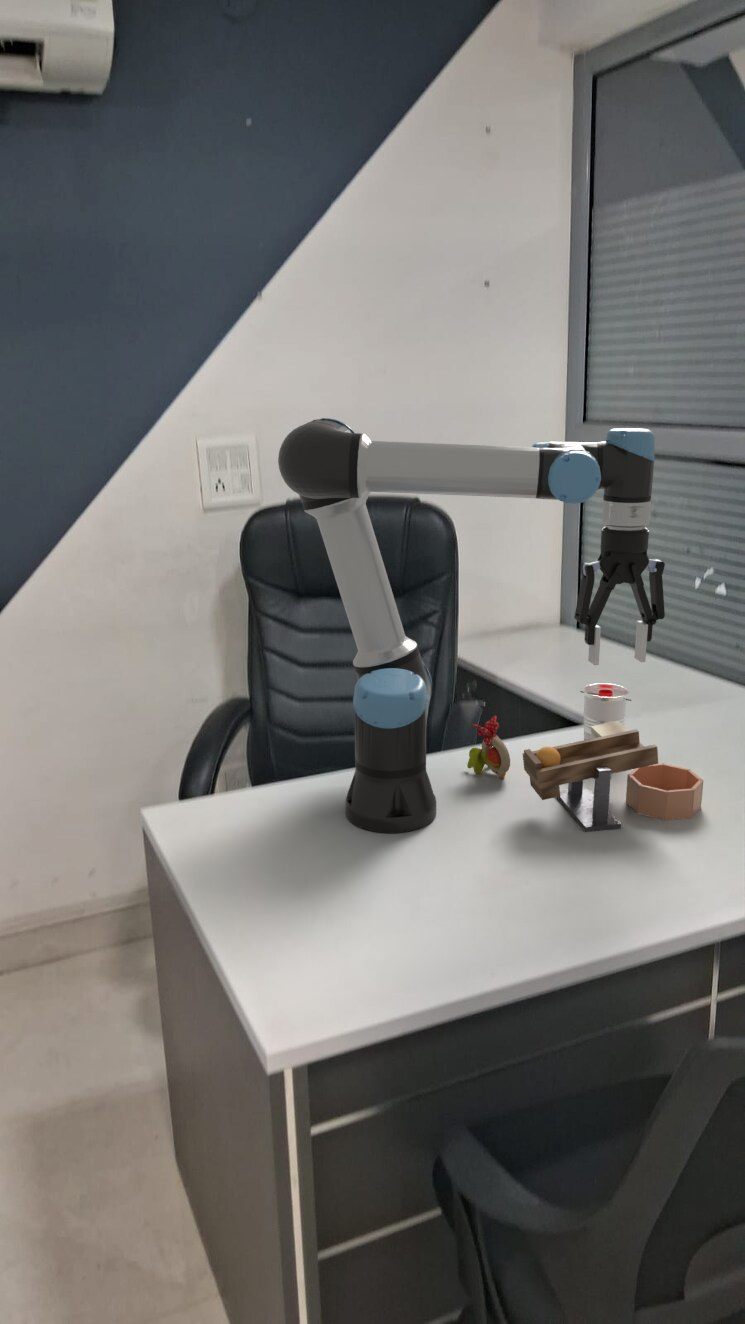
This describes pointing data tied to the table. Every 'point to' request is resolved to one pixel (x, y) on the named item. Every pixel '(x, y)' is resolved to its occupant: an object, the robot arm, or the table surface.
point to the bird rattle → (490, 751)
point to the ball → (548, 757)
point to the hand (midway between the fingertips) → (616, 661)
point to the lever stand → (591, 802)
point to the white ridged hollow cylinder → (603, 705)
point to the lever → (590, 758)
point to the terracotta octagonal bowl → (664, 791)
